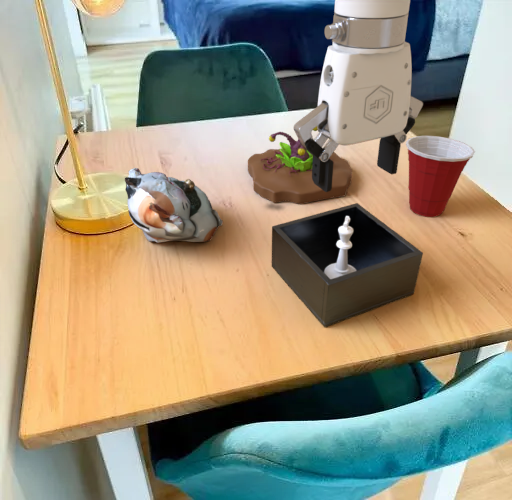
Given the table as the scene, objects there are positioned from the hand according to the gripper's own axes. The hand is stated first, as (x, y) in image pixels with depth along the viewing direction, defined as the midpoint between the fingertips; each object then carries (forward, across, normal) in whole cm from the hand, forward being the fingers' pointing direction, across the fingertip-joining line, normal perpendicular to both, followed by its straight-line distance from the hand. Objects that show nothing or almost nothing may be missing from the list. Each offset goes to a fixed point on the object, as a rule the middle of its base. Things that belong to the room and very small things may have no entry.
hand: (355, 178), depth 63 cm
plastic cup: (+17, +25, +11) cm, 32 cm away
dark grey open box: (+16, 0, +1) cm, 16 cm away
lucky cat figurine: (+16, -17, +23) cm, 33 cm away
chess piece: (+16, 0, +1) cm, 16 cm away
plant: (+16, +11, +31) cm, 36 cm away
